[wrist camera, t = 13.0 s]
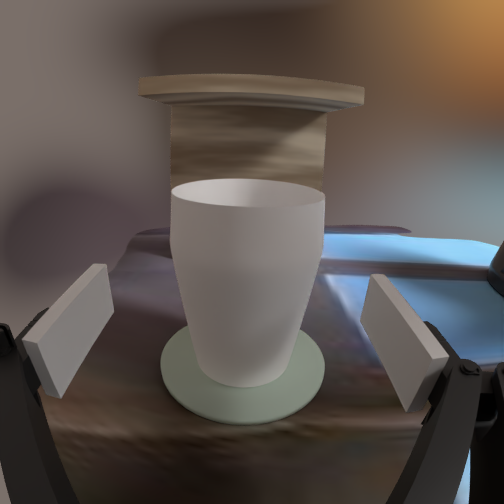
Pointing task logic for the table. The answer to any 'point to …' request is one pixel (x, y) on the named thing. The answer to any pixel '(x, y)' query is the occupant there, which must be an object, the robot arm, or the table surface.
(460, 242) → the table surface
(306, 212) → the cup
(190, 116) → the shelf
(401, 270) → the table surface
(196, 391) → the mat
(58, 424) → the table surface
